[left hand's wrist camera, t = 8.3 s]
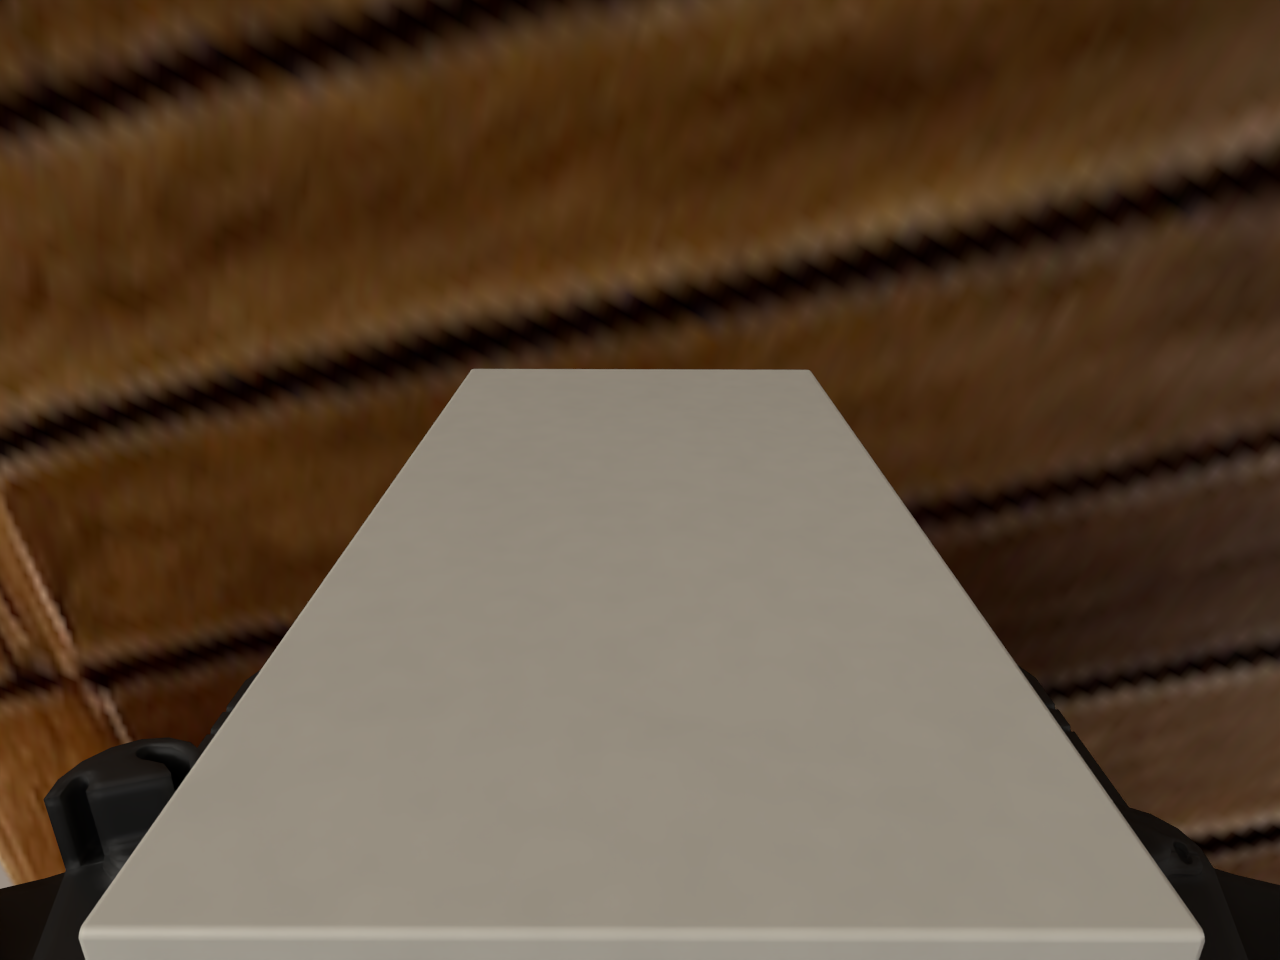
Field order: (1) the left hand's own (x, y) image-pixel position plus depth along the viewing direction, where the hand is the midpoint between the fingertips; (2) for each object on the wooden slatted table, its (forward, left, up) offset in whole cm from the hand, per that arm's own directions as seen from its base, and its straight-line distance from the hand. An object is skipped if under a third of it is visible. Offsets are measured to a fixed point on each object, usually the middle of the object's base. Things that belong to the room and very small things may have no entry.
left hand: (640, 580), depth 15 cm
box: (+2, +7, -2) cm, 8 cm away
